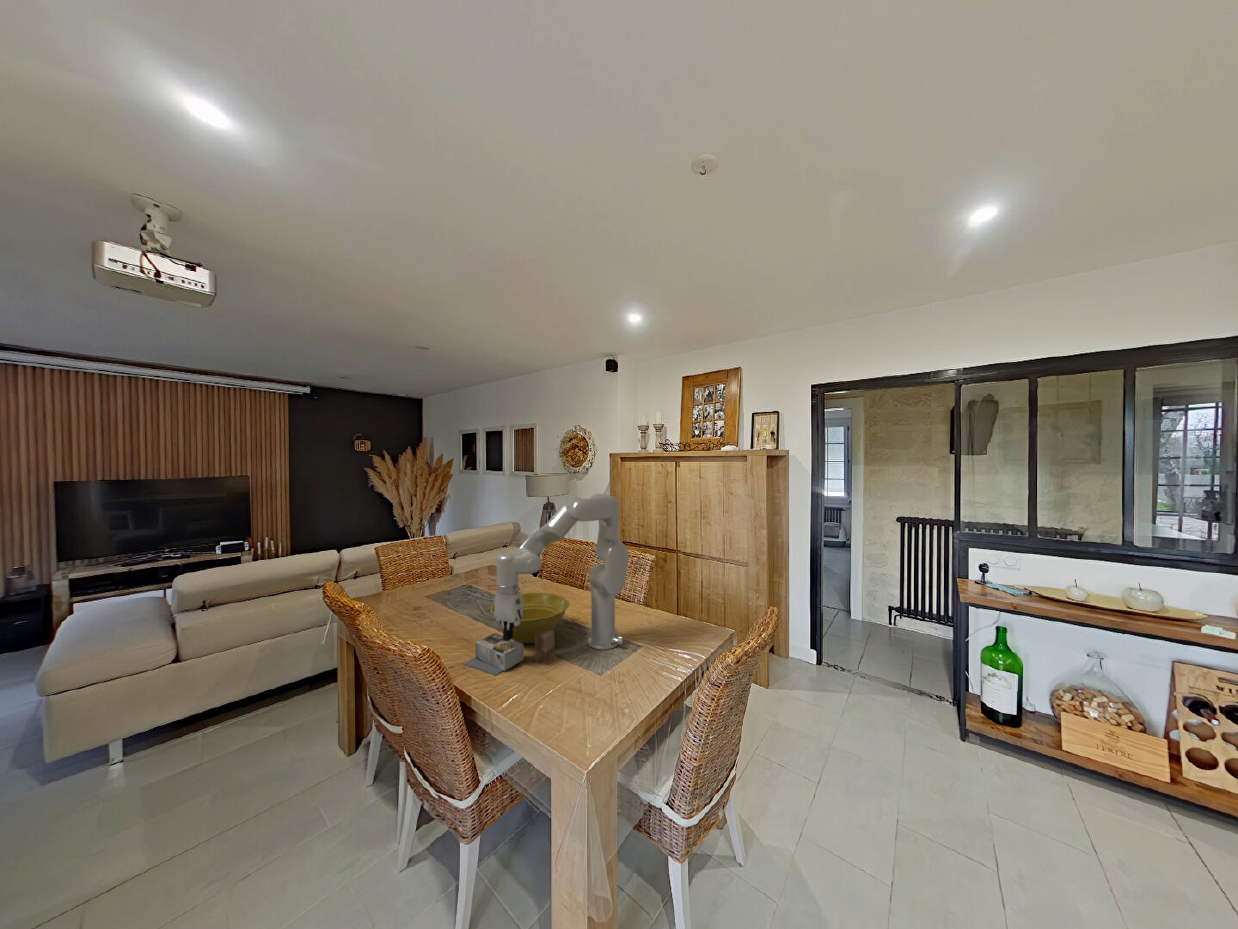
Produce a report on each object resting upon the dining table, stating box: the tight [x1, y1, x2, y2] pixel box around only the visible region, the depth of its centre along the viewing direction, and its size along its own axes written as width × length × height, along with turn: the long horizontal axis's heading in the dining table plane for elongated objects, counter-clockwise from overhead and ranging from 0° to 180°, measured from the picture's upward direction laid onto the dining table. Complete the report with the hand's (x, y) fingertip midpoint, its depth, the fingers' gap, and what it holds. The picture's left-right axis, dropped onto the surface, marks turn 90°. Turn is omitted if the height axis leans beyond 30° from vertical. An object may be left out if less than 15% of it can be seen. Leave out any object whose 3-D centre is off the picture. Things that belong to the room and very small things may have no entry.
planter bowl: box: [490, 592, 570, 644], centre depth 169 cm, size 32×32×13 cm
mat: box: [463, 656, 505, 676], centre depth 147 cm, size 16×12×1 cm
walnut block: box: [534, 630, 556, 665], centre depth 149 cm, size 5×5×10 cm
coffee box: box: [475, 633, 525, 672], centre depth 148 cm, size 9×6×16 cm
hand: (508, 639), depth 145 cm, fingers closed
